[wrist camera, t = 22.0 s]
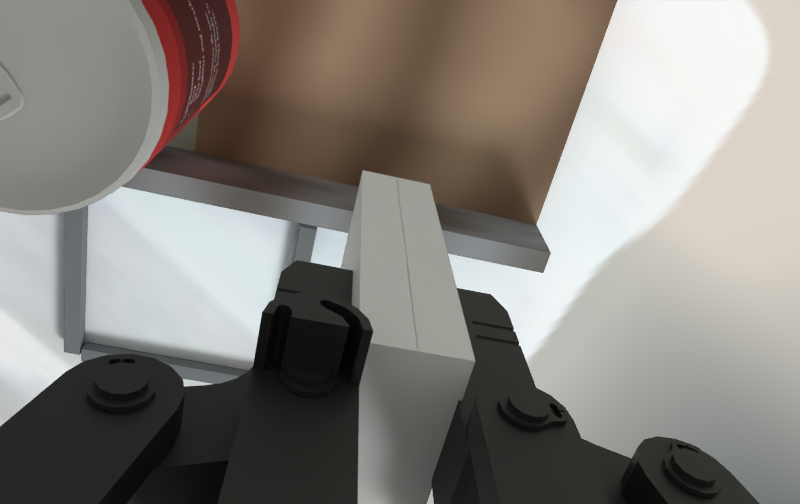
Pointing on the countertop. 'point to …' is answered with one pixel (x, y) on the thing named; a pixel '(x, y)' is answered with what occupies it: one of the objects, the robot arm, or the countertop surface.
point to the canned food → (101, 91)
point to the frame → (75, 345)
